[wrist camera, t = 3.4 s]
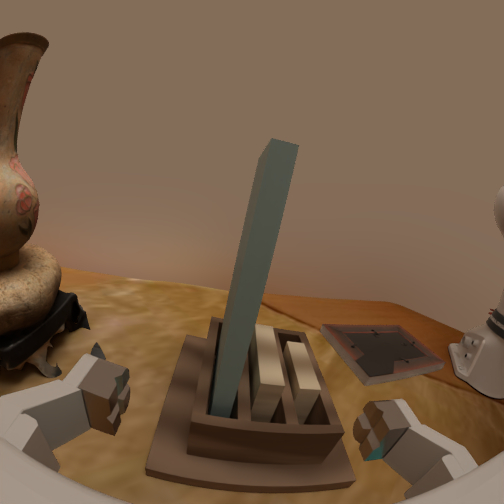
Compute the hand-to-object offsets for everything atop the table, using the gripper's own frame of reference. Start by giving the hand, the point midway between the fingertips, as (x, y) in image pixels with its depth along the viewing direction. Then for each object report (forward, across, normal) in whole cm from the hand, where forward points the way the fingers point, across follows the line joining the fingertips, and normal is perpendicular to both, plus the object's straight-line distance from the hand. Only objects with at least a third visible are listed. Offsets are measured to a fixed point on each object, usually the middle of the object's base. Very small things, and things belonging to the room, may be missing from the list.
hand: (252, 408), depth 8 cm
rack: (+15, -4, +16) cm, 23 cm away
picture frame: (+31, -30, +16) cm, 47 cm away
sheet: (+15, 0, +14) cm, 21 cm away
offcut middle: (+15, -4, +14) cm, 21 cm away
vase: (+15, +26, +16) cm, 35 cm away
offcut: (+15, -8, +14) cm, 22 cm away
